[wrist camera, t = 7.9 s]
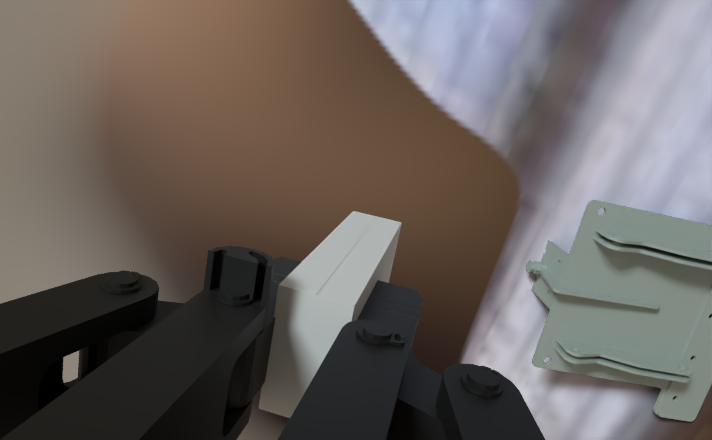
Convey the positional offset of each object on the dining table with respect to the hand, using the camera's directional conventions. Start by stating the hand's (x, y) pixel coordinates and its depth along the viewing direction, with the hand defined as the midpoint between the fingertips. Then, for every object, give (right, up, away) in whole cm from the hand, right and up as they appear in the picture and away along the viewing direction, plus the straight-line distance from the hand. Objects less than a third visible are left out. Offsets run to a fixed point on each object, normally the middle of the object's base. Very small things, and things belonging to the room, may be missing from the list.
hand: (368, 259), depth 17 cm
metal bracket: (+18, -3, +19) cm, 27 cm away
